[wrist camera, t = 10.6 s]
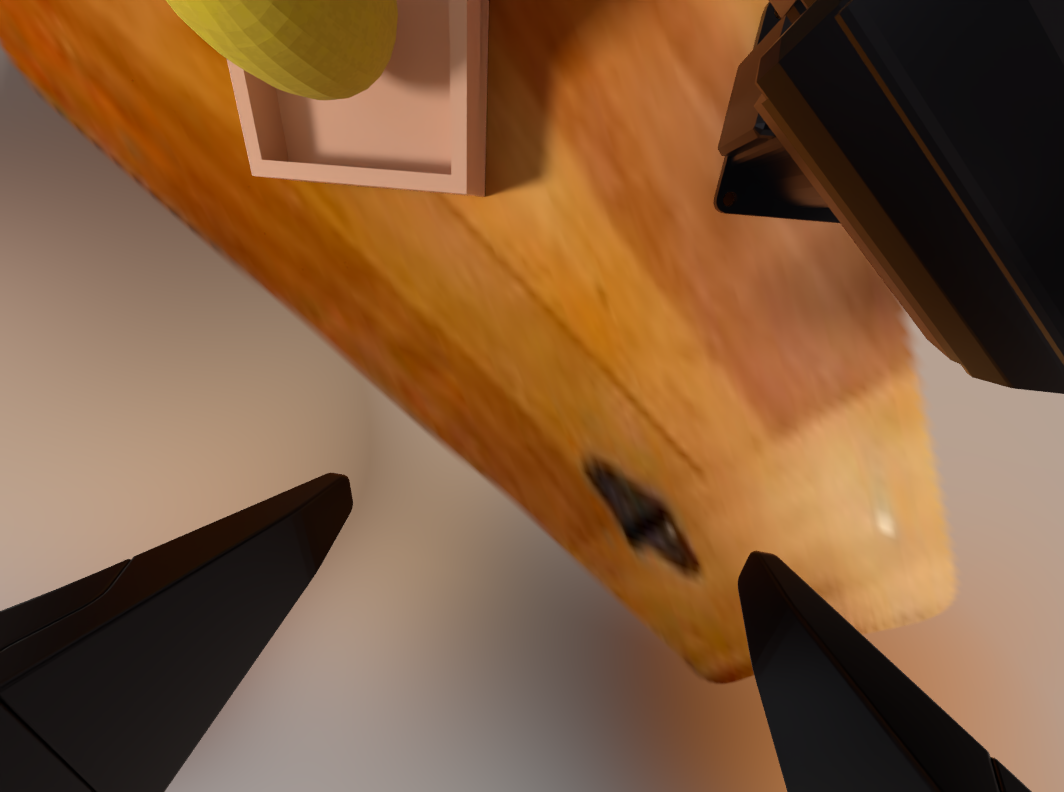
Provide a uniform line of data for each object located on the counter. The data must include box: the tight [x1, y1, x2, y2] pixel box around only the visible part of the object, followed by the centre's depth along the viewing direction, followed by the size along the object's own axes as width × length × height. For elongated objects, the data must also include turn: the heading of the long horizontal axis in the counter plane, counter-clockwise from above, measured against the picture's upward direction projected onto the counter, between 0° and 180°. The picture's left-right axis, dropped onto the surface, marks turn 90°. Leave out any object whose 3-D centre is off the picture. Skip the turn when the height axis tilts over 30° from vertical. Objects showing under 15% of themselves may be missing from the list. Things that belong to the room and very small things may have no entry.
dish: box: [227, 0, 489, 197], centre depth 14 cm, size 9×10×2 cm
